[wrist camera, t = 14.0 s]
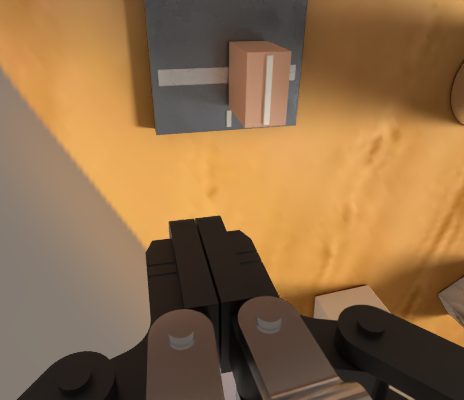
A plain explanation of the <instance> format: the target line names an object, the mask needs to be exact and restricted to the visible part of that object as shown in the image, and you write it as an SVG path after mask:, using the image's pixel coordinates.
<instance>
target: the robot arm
mask: <svg viewBox="0 0 464 400" xmlns="http://www.w3.org/2000/svg"><path fill="white" fill-rule="evenodd" d="M451 106H452V110H453V113H454V115H455V117H456V119H457V120H458V121H459V122H460V123H461V124H463V125H464V63H463V64H462V66H461V68H460V70H459V72H458V73H457V76H456V78H455V81H454V84H453V88H452V93H451ZM169 235H170V239H163V240H155V241H152V242H151V244H150V246H149V248H148V249H147V251H146V264H147V276H148V287H149V288H148V289H149V302H150V315H151V324H150V328H149V330H148V333H147V334H146V336H145V337H144V338H143V340H142V341H141V342H140V343H139V344H137V345H136V346H135V347H134V348H132V349H131V350H129V351H127V352H125V353H123V354H121V355H119V356H116V357H114V358H112V359H110V360H109V359H108V358H107V357H106V356H104V355H102V354H100V353H97V352H92V351H83V352H77V353H73V354H70V355H68V356H65V357H63V358H62V359H60V360H58V361H57V362H55V363H54V364H53V365H51V366H50V367H49V368H48V369H47V370H46V371H45V372H44V373H43V374H42V375H41V376H40V377H39V378H38V379H37V380H36V381H35V382H34V383H33V384H32V385H31V386H30V387H29V388H28V389H27V390H26V391H25V392H24V393H23V394H22V395H21V396H20V397H19V398H18V399H17V400H225V398H224V392H223V385H222V379H221V373H226V372H231V371H232V372H233V375H234V379H235V383H236V400H409V399H408V398H406V397H404V396H402V395H401V394H399V393H397V392H395V391H394V390H392V389H390V388H389V386H392V387H394V388H395V389H397V390H399V391H401V392H402V393H404V394H406V395H408V396H410V397H411V398H413V399H415V400H464V348H463V347H461V346H459V345H457V344H455V343H453V342H451V341H449V340H446V339H444V338H442V337H440V336H438V335H436V334H434V333H431V332H429V331H427V330H425V329H423V328H421V327H419V326H416V325H414V324H412V323H410V322H408V321H406V320H404V319H401V318H399V317H397V316H395V315H393V314H391V313H389V312H387V311H384V310H382V309H380V308H377V307H374V306H370V305H353V306H350V307H347V308H345V309H344V310H343V311H342V312H341V313H340V315H339V317H338V320H327V319H317V318H309V317H306V316H302V315H300V314H299V313H298V312H297V310H296V309H295V308H294V307H293V306H292V305H291V304H290V303H288V302H287V301H285V300H283V299H280V298H279V296H278V293H277V291H276V289H275V287H274V285H273V283H272V281H271V279H270V277H269V275H268V273H267V271H266V269H265V267H264V265H263V263H262V262H261V259H260V256H259V254H258V253H257V250H256V248H255V246H254V244H253V242H252V240H251V239H250V238H249V237H248V236H246V235H245V234H244V233H243V232H241V231H240V230H236V231H228V232H227V231H226V228H225V226H224V224H223V221H222V219H221V217H220V216H212V217H203V218H195V221H194V219H186V220H177V221H169ZM219 365H220V366H219ZM220 369H221V372H220Z"/></svg>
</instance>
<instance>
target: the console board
mask: <svg viewBox="0 0 464 400" xmlns="http://www.w3.org/2000/svg"><path fill="white" fill-rule="evenodd" d="M144 7H145V19H146V30H147V42H148V53H149V65H150V76H151V88H152V99H153V111H154V122H155V131H156V135H164V134H178V133H192V132H207V131H221V130H235V129H250V128H245V127H244V126H243V125H242V124H241V122H240V121H239V120H238V119H237V117H236V116H235V115H234V114H233V113H232V111H231V110H230V109H229V42H237V41H269V42H271V43H274V44H276V45H278V46H281V47H283V48H285V49H287V50H290V51H292V53H291V65H290V77H289V89H288V101H287V114H286V125H281V126H293V125H296V115H297V104H298V94H299V83H300V73H301V62H302V52H303V41H304V31H305V20H306V10H307V0H144ZM267 127H278V126H267ZM252 128H264V127H252Z"/></svg>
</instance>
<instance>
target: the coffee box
mask: <svg viewBox="0 0 464 400" xmlns="http://www.w3.org/2000/svg"><path fill="white" fill-rule="evenodd" d="M438 297H439V298H440V300H441V302H442V304H443V305H444V307H445V309H446V310H447V312H448V313H449V315H450V316H452V317H453V318H454V319H455V320H456V321H457V322H458V323H459V324H460V325H461V326H462V327H463V328H464V277H462V278H461V279H460V280H458V281H457V282H455V283H454V284H452V285H451V286H449V287H448V288H446V289H445V290H443V291H442V292H440V293H439V294H438Z"/></svg>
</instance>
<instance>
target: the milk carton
mask: <svg viewBox="0 0 464 400" xmlns="http://www.w3.org/2000/svg"><path fill="white" fill-rule="evenodd" d="M353 305H370V306H374V307H377V308H380V309H382V310H384V311H387V312H389V310H388V309H387V308H386V307H385V305H384V304H383V303H382V302H381V300H380V299H379V298H378V297H377V295H376V294H375V293H374V292H373V290H372V289H371V288H370V287H369V285H366V286H361V287H357V288H352V289H347V290H343V291H338V292H334V293H329V294H324V295H320V296H316V297H315V306H314V318H317V319H327V320H338V317H339V315H340V313H341V312H342V311H343V310H344V309H345V308H347V307H350V306H353ZM389 313H390V312H389ZM389 388H390V389H392V390H394V391H395V392H397V393H399V394H401V395H402V396H404V397H406V398H408V399H409V400H415V399H413V398H411V397H410V396H408V395H406V394H404V393H402V392H401V391H399V390H397V389H395V388H394V387H392V386H389Z"/></svg>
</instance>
